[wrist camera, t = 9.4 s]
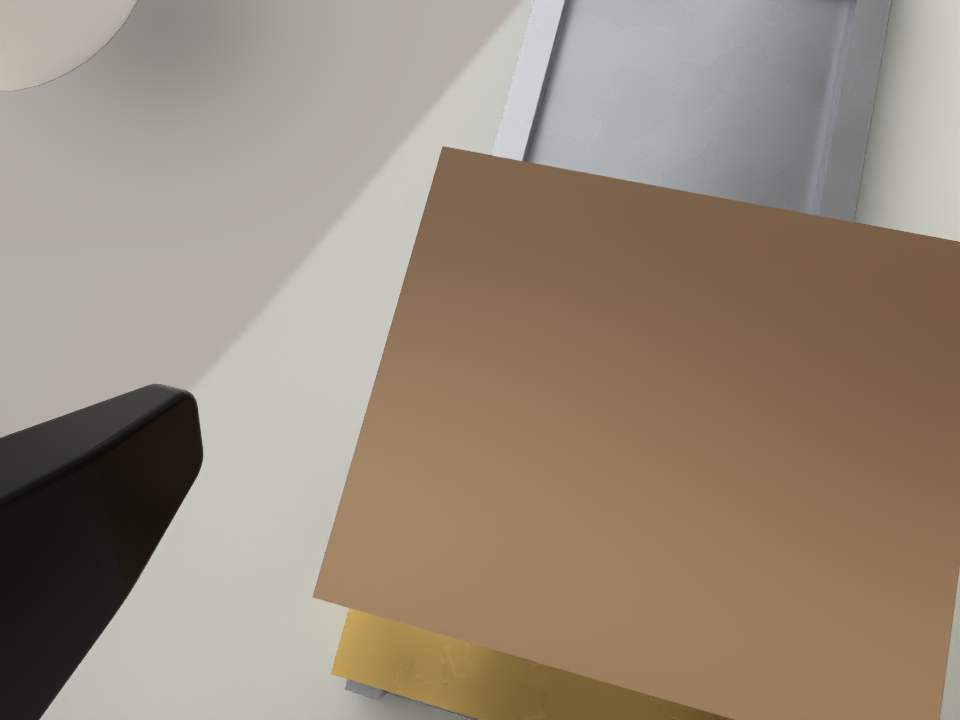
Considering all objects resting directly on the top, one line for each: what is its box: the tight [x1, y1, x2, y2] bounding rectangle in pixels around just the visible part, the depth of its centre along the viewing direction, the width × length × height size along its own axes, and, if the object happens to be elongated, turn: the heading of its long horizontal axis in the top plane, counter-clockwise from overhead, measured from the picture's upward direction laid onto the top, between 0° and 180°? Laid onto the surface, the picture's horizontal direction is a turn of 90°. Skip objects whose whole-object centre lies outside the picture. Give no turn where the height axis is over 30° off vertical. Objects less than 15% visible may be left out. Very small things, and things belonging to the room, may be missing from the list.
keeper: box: [313, 147, 960, 720], centre depth 12 cm, size 6×6×13 cm
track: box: [331, 0, 892, 720], centre depth 18 cm, size 21×9×2 cm, turn 166°
